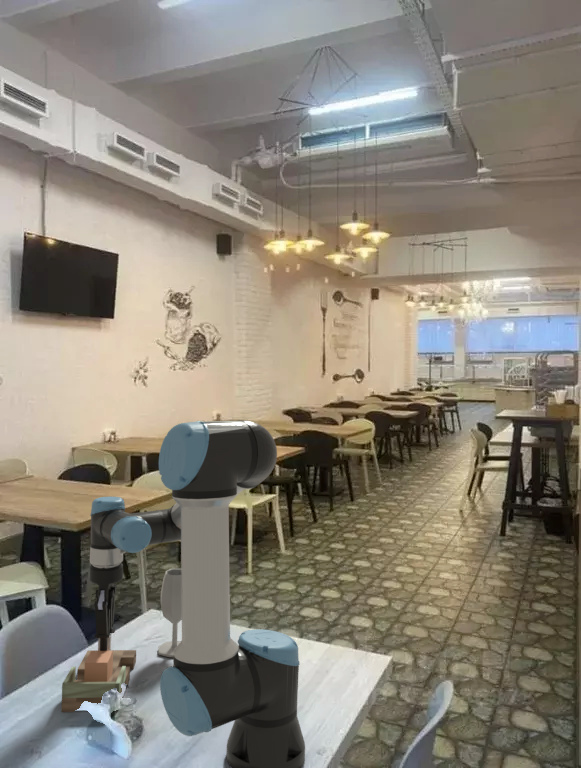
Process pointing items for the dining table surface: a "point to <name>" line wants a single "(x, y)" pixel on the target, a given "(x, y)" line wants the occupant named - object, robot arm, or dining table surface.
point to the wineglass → (171, 607)
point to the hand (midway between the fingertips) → (104, 662)
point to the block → (98, 666)
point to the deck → (93, 691)
